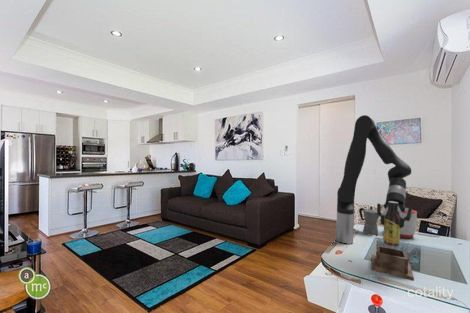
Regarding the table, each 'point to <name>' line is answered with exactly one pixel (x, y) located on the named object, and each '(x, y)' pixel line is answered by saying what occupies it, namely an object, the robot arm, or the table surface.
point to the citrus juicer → (409, 225)
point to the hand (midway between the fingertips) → (391, 225)
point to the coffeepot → (369, 221)
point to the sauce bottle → (392, 225)
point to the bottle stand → (392, 262)
